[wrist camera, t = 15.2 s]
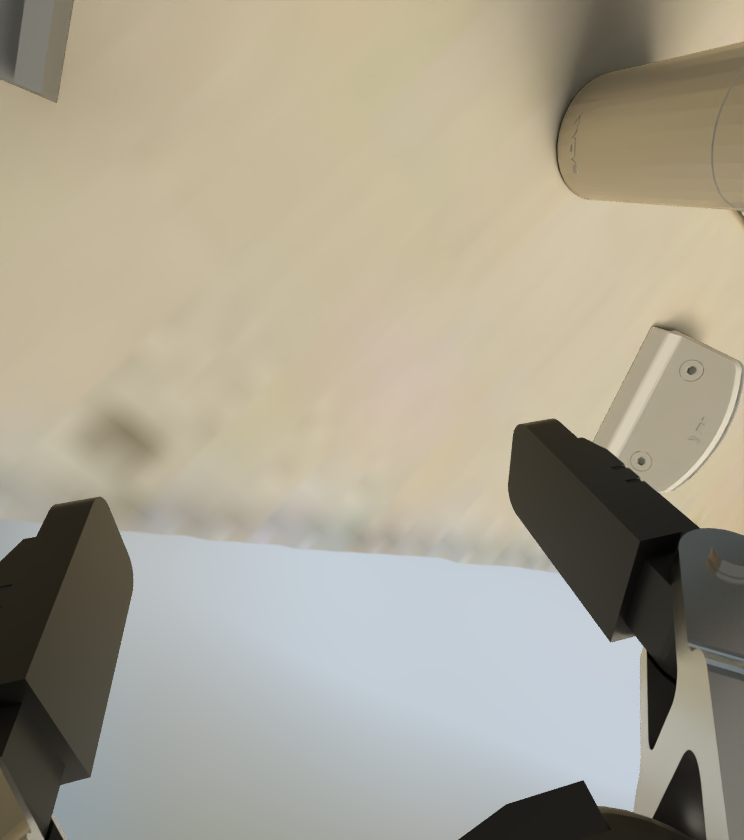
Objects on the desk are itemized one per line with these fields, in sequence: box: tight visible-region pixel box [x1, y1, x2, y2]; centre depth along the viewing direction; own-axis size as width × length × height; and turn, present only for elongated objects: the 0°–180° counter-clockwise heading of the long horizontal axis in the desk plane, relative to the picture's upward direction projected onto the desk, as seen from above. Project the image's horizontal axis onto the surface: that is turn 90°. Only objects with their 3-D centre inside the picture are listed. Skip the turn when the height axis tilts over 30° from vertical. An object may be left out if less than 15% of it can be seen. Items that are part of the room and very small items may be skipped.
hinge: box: [593, 327, 744, 493], centre depth 53 cm, size 17×5×10 cm, turn 161°
